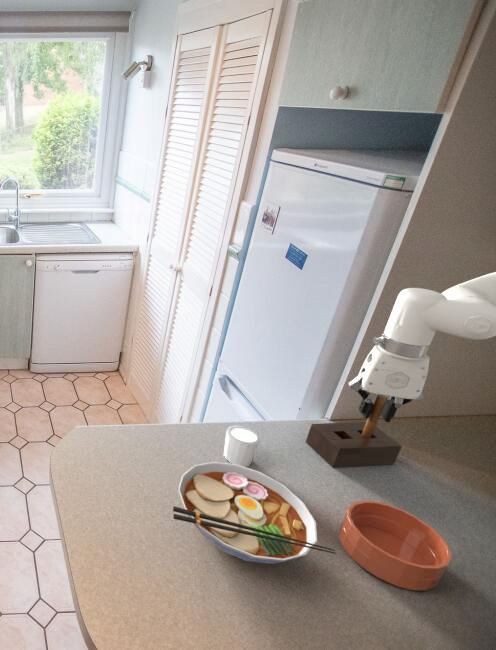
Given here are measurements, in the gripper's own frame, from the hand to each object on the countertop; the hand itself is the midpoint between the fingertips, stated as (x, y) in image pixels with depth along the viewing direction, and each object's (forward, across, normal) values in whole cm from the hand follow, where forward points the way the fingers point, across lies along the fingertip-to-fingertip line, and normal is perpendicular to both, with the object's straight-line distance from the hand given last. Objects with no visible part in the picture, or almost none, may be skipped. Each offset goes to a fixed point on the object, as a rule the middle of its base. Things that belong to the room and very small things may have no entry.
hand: (374, 416), depth 103 cm
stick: (+11, 0, 0) cm, 11 cm away
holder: (+11, -3, -1) cm, 11 cm away
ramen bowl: (+11, -31, -35) cm, 48 cm away
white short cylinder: (+11, -28, -12) cm, 32 cm away
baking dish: (+11, -6, -31) cm, 33 cm away
